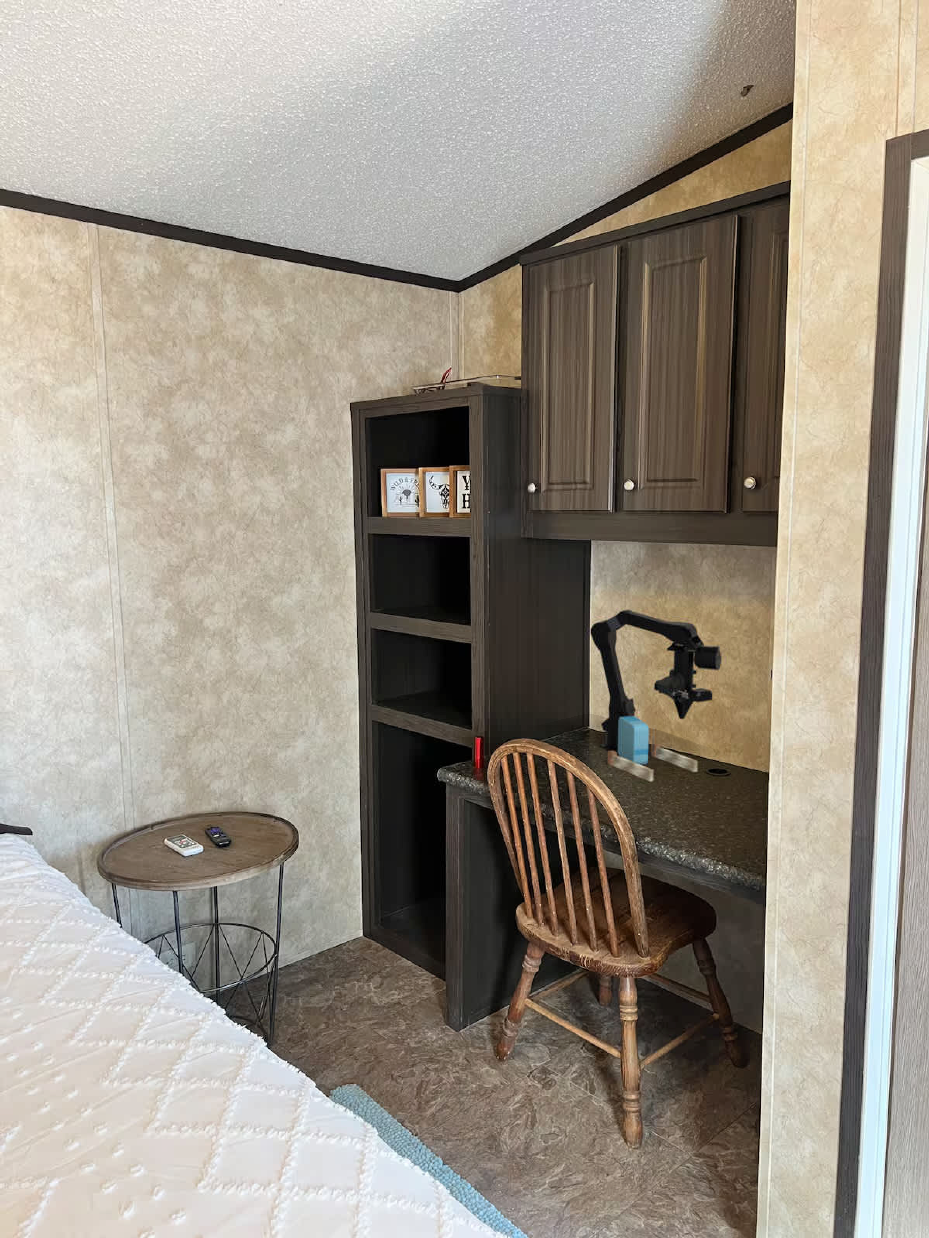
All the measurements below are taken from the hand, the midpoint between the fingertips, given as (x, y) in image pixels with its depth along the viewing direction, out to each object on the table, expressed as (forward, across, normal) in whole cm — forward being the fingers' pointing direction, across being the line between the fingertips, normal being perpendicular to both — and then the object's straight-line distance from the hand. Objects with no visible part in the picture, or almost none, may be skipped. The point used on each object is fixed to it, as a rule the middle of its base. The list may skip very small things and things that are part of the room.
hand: (681, 718), depth 271 cm
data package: (+12, -6, -13) cm, 19 cm away
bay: (+12, +3, -13) cm, 18 cm away
